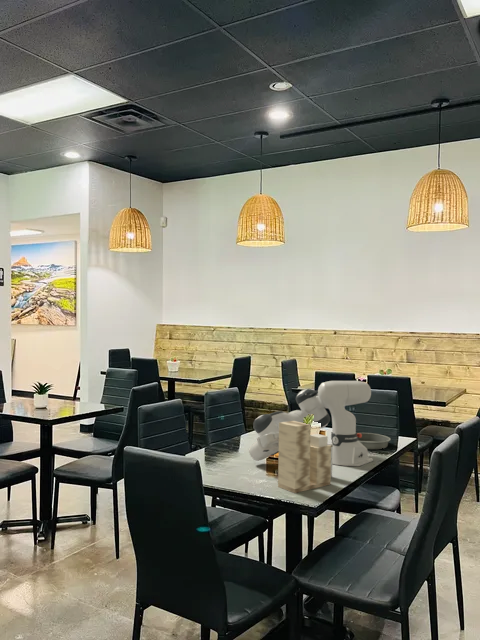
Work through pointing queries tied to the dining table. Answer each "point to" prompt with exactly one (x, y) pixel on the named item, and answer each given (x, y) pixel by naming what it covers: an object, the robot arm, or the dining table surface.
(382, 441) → the cake pan
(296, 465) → the stepped wooden stack
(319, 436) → the block hammer
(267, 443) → the robot arm
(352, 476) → the dining table surface
